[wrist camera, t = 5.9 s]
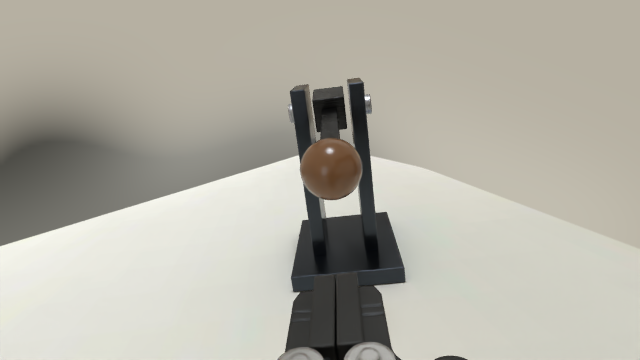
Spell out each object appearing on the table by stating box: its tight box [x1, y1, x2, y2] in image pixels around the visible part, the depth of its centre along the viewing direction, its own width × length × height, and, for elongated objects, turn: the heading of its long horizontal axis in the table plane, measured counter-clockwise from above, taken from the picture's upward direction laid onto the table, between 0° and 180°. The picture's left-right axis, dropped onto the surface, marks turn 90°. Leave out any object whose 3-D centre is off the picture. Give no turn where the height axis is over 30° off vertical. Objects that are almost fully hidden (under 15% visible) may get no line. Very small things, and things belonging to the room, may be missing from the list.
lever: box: [300, 86, 362, 200], centre depth 25 cm, size 13×3×3 cm, turn 178°
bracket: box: [288, 78, 405, 292], centre depth 31 cm, size 10×8×14 cm
